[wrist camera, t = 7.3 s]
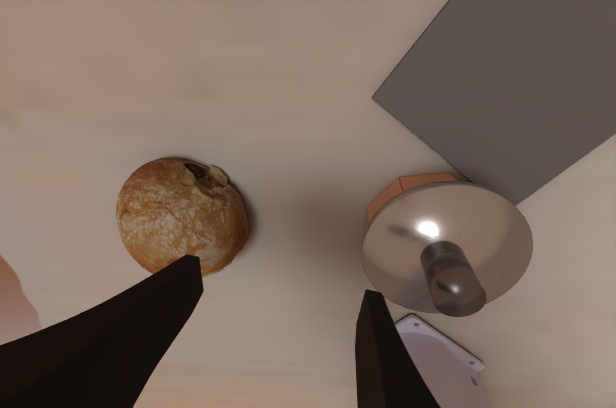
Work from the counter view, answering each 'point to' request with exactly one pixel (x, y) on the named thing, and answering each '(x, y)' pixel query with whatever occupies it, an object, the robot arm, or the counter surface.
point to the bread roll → (181, 215)
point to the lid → (446, 247)
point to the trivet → (510, 88)
